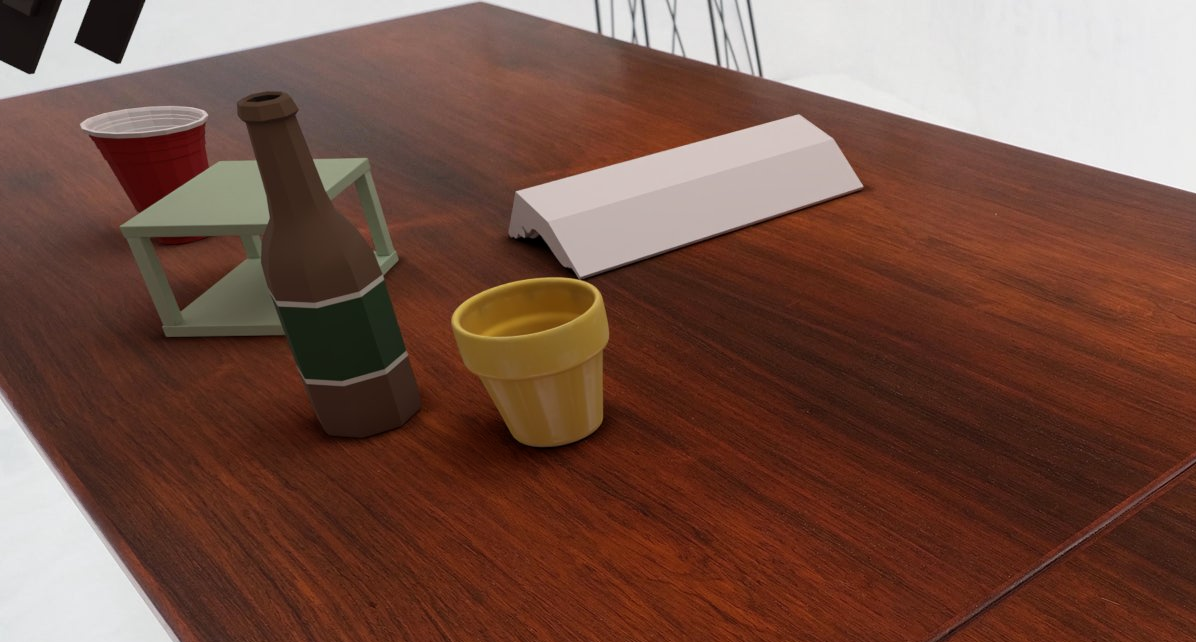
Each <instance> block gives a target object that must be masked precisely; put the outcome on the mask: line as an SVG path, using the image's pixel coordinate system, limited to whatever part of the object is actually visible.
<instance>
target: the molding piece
mask: <svg viewBox="0 0 1196 642" xmlns="http://www.w3.org/2000/svg"><path fill="white" fill-rule="evenodd" d="M864 187H865V186H864V185H863V183H862V182H861V180H860V178H859V177H858V175H857V174H856V172H855V170H854V169H853V167H852V166H851V164H850V162H849V161H848V159H847V158H846V156H845V154H844V153H843V151H842V150H841V148H840V147H839V145H838V144H837V142H836V139H834V138H833V137H832V136H830V135H829V134H827V133H826V132H825V131H823V130H822V129H821V128H819V127H817V126H816V125H815V124H814V123H812V122H811V121H809V120H808V119H807V118H805V117H804V116H802V115H801V114H799V113H798V114H795V115H791V116H787V117H784V118H780V119H777V120H772V121H770V122H766V123H762V124H758V125H754V126H751V127H747V128H744V129H743V128H742V129H740V130H736V131H732V132H730V133H729V132H728V133H725V134H722V135H718V136H714V137H711V138H707V139H703V140H700V141H696V142H695V141H694V142H691V143H688V144H685V145H681V146H678V147H674V148H670V149H666V150H663V151H659V152H655V153H652V154H649V155H648V154H647V155H644V156H641V157H637V158H634V159H630V160H626V161H622V162H619V163H615V164H611V165H607V166H604V167H600V168H597V169H593V170H590V171H586V172H582V173H577V174H575V175H571V176H567V177H563V178H560V179H557V180H552V181H549V182H545V183H542V184H538V185H534V186H531V187H527V188H524V189H519V190H516V191H515V193H514V198H513V205H512V210H511V216H510V220H509V225H508V231H507V233H508V235H509V237H510V238H514V239H520V238H523V239H526V238H530V239H536V238H539V236H541V238H542V240H543V241H544V243H546V245H547V246H548V247H549V249H550V251H551V253H553V255H554V256H555V258H556V259H557V260H558V262H559V264H561V265H562V266H563V267H564V268H568V269H571V270H572V271H573V272H574V274H575V275H576V277H577V278H578V280H581V281H582V280H583V279H587V278H591V277H593V276H596V275H599V274H603V273H605V272H609V271H612V270H615V269H618V268H621V267H625V266H628V265H630V264H633V263H636V262H640V261H643V260H646V259H649V258H652V257H656V256H659V255H662V254H665V253H669V252H672V251H675V250H678V249H680V248H684V247H687V246H690V245H693V244H697V243H699V242H703V241H706V240H709V239H711V238H715V237H719V236H721V235H724V234H727V233H730V232H734V231H737V230H739V229H743V228H747V227H749V226H753V225H755V224H759V223H762V222H765V221H768V220H771V219H775V218H777V217H781V216H783V215H787V214H789V213H793V212H797V211H799V210H802V209H805V208H808V207H811V206H815V205H817V204H821V203H824V202H827V201H831V200H834V199H837V198H839V197H843V196H847V195H849V194H852V193H855V192H859V191H861V190H863V188H864Z"/></svg>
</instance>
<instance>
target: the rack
mask: <svg viewBox="0 0 1196 642" xmlns="http://www.w3.org/2000/svg"><path fill="white" fill-rule="evenodd" d="M313 161H314V163H315V166H316V168H317V171H318V174H319V176H320V179H321V181H322V184H323V186H324V189H325V191H326V193H327V195H328V197H329V198H330V200H331V201H333V200H334V199H335V198H336V197H338V196H340V194H342V193H343V192H344V191H345V190H346V189H347V188H348V187H350V186H351V185H352V184H353V183H354V185H355V188H356V191H357V194H358V198H359V202H360V204H361V208H362V211H363V214H364V217H365V221H366V223H367V226H368V230H369V233H370V236H371V239H372V243H373V246H374V249H375V250H373V251H374V254H375V256H376V259H377V261H378V264H379V266H380V269H381V271H382V274H383V277H384V276H385V275H386V274H387V273H388V272H389V271H390V270H391V269H392V268H393V267H394V266H395V265H396V264H397V263H398V261H400V259H399V256H398V252H397V251H396V250H395V248H394V245H393V241H392V238H391V234H390V232H389V228H388V225H387V222H386V219H385V214H384V211H383V208H382V205H381V201H380V199H379V194H378V191H377V189H376V185H375V182H374V179H373V175H372V173H371V164H370V161H369V158H368V157H353V158H351V157H347V158H313ZM269 219H270V217H269V210H268V204H267V197H266V193H265V189H264V186H263V182H262V179H261V175H260V172H259V168H258V165H257V161H256V159H255V160H254V159H251V160H250V159H249V160H219V161H217V162H216V163H214V164H213V165H211V166H209V168H208V169H207V170H205V171H204V172H202V173H201V174H199V175H197V176H196V177H194V178H193V179H191V180H190V181H188V182H187V183H185V184H184V185H182V186H181V187H179V188H178V189H176V190H174V191H173V192H171V193H170V194H168V195H167V196H165V197H164V198H162V199H161V200H159V201H158V202H156V203H155V204H153V205H152V206H150V207H148V208H147V209H145V210H144V211H142V212H141V213H139V212H138V213H137V214H136V215H135V216H132V218H130V219H128V220H127V221H126V222H124V223H122V224H121V225H120V226H119V229H120V232H121V234H122V237H123V238H125V239H126V242H127V243H128V246H129V249H130V251H131V253H132V255H133V258H134V261H135V262H136V265H137V268H138V270H139V271H140V274H141V277H142V279H143V281H144V284H145V286H146V288H147V291H148V293H149V296H150V297H151V301H152V302H153V305H154V307H155V309H156V312H157V314H158V316H159V319H160V321H161V323H162V326H161V328H162V330H163V333H164V335H165V337H166V338H182V337H189V338H191V337H244V336H245V337H246V336H247V337H249V336H251V337H252V336H253V337H254V336H257V337H258V336H285V333H284V330H283V327H282V325H281V322H280V319H279V317H278V314H277V311H276V308H275V306H274V303H273V300H272V298H271V295H270V292H269V289H268V287H267V283H266V279H265V276H264V272H263V269H262V265H261V246H262V239H261V237H260V236H264V233H265V230H266V227H267V224H268V221H269ZM185 236H208V237H229V236H230V237H232V236H233V237H234V236H236V237H237V236H239V239H240V241H241V244H242V246H243V250H244V252H245V255H246V257H247V258H246V259H244V260H243V261H242V262H241V263H239V264H238V265H237V266H236V267H234V268H233V269H232V270H231V271H229V272H228V273H227V274H225V276H223V277H222V278H221V279H219V280H218V281H217V282H216V283H214V284H213V285H212V286H211V287H210V288H208V289H207V290H205V291H204V292H203V293H202V294H201V295H200V296H198V297H197V298H196V299H195V300H193V301H192V302H191V303H189V304H188V305H187V306H186V307H184V308H183V309H182V310H180V307H179V305H178V303H177V300H176V297H175V295H174V293H173V290H172V288H171V286H170V283H169V281H168V278H167V276H166V274H165V272H164V268H163V267H162V264H161V262H160V260H159V256H158V254H157V252H156V250H155V249H156V248H155V247H154V245H153V242H152V239H151V238H155V237H185Z"/></svg>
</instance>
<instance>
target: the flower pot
mask: <svg viewBox="0 0 1196 642" xmlns="http://www.w3.org/2000/svg"><path fill="white" fill-rule="evenodd" d="M450 323H451V329H452V333H453V335H454V339H455V343H456V346H457V348H458V352H459V355H460V356H461V359H462V362H463V364H464V366H465V368H466V369H467V370H468V371H469V372H470V373H472V374H475V375H476V376H478V377H479V379H480V381H481V383H482V385H483V386H484V388H485V389H486V391H487V393H488V395H489V396H490V398H491V400H492V401H493V403H494V405H495V407H496V409H497V411H498V413H499V414H500V416H501V418H502V420H503V421H504V423H505V425H506V427H507V428H508V429H507V430H509V433H510V434H511V435H512V437H513V438H514V439H515V440H516V441H517V442H519V443H520V444H523V445H526V446H529V447H534V448H535V447H536V448H551V447H560V446H564V445H568V444H572V443H575V442H578V441H581V440H583V439H584V438H586V437H589V436H590V435H592V434H594V433H595V431H597V430H598V429H599V427H600V426H601V425H602V423H603V419H604V383H603V382H604V379H603V378H604V375H603V374H604V368H603V367H604V363H603V362H604V349H605V348H606V346H607V345H608V343H609V339H610V328H609V321H608V316H607V312H606V306H605V303H604V299H603V296H602V294H601V291H599V289H598V288H597V287H596V286H594V285H593V284H592V283H590V282H587V281H585V280H582V279H581V280H579V279H577V278H571V277H570V278H569V277H555V276H554V277H534V278H528V279H521V280H516V281H511V282H508V283H504V284H501V285H497V286H494V287H491V288H488V289H486V290H484V291H481V292H479V293H477V294H475V295H473V296H471V297H470V298H468V299H466V300H465V301H463V303H461V304H459V306H458V307H457V308H455V310H454V312H453V313H452V315H451V318H450Z"/></svg>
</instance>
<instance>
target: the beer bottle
mask: <svg viewBox="0 0 1196 642" xmlns="http://www.w3.org/2000/svg"><path fill="white" fill-rule="evenodd" d="M299 110H300V109H299V107H298V105H297V104H296V102H295V101H294V100H293V98H292V97H291V95H290V94H289V92H284V91H273V90H272V91H271V90H270V91H267V90H266V91H262V92H256V93H252V94H249V95H247V96H245V97H242V98H241V99H239V100H237V101H236V113H237V117H238V118H239V119H240V121H242V123H243V122H244V123H245V126H246V129H247V132H248V136H249V139H250V143H251V147H252V151H253V154H254V158H255V160H256V161H257V165H258V168H259V172H260V175H261V179H262V182H263V186H264V189H265V193H266V197H267V204H268V210H269V217H270V219H269V221H268V224H267V227H266V230H265V233H264V235H262V239H261V242H262V246H261V265H262V269H263V272H264V276H265V279H266V283H267V287H268V289H269V292H270V295H271V298H272V300H273V303H274V306H275V308H276V311H277V314H278V317H279V319H280V322H281V325H282V327H283V330H284V333H285V335H284V336H285V338H286V341H287V344H288V346H289V349H290V352H291V354H292V357H293V360H294V362H295V366H296V368H297V371H298V373H299V376H300V379H301V382H302V385H303V387H304V391H305V393H306V395H307V398H308V400H309V403H310V406H311V407H312V409H313V411H314V414H315V416H316V418H317V420H318V421H319V423H320V425H321V426H322V428H323V430H324V432H325V434H327V435H328V436H330V437H343V438H344V437H345V438H356V439H357V438H360V439H364V438H368V437H371V436H375V435H378V434H381V433H384V432H387V431H390V430H394V429H397V428H401V427H402V426H404V424H405V423H406V422H408V421H409V420H410V419H411V418H412V417H413V416H414V415H415V414H416V413H418V411H420V410H421V407H422V400H421V396H420V392H419V387H418V383H417V380H416V377H415V373H414V371H413V367H412V363H411V361H410V357H409V354H408V351H407V348H406V344H405V341H404V338H403V335H402V332H401V328H400V325H399V322H398V319H397V316H396V312H395V309H394V306H393V303H392V300H391V296H390V293H389V290H388V286H387V284H386V280H385V277H384V276H383V274H382V271H381V269H380V266H379V264H378V261H377V259H376V256H375V254H374V251H375V250H374V249H372V247H371V245H370V244H369V243H368V242H367V240H366V239H365V238H364V236H363V234H362V233H361V232H360V230H359V229H358V228H357V227H356V226H355V225H354V223H353V222H352V221H351V220H350V219H348V218H347V217H346V216H345V215H344V214H343V213H341V212H340V210H338V209H337V208H336V207H335V205H334V204H333V202H332V200H330V198H329V197H328V195H327V193H326V191H325V189H324V186H323V184H322V181H321V179H320V176H319V174H318V171H317V168H316V166H315V163H314V161H313V159H314V158H313V156H312V153H311V151H310V148H309V146H308V143H307V141H306V139H305V136H304V133H303V131H302V128H301V126H300V123H299V120H298V119H297V116H296V115H297V114H298V112H299Z"/></svg>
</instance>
